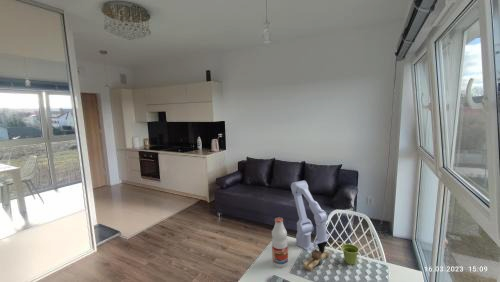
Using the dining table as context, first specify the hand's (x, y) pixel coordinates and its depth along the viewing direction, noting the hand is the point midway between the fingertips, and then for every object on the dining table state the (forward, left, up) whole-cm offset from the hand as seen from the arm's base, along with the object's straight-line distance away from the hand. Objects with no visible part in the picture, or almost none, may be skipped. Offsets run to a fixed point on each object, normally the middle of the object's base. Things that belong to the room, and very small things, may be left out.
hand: (321, 252), depth 143 cm
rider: (0, -6, -2) cm, 6 cm away
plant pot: (+14, +9, -4) cm, 17 cm away
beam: (0, -5, -4) cm, 7 cm away
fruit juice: (-15, -21, -4) cm, 26 cm away
